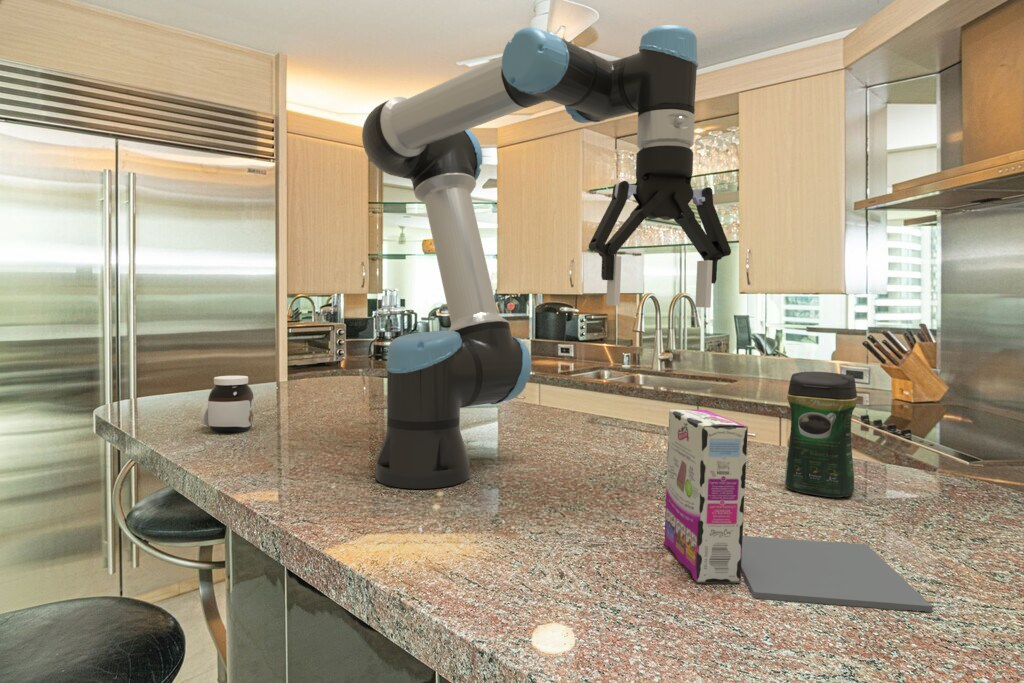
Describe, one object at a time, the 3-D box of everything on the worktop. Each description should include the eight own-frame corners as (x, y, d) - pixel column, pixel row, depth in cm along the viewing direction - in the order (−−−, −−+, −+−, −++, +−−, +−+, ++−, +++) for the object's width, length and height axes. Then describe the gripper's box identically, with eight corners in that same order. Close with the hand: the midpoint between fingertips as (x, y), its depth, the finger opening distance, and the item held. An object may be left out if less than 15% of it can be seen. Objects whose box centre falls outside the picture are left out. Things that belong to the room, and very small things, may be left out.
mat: (753, 598, 63) (754, 592, 63) (725, 539, 79) (725, 534, 79) (932, 612, 61) (932, 606, 61) (866, 549, 77) (866, 544, 77)
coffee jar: (857, 491, 101) (863, 372, 100) (847, 503, 95) (852, 376, 94) (792, 480, 107) (797, 368, 106) (778, 490, 101) (783, 371, 100)
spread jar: (239, 435, 135) (238, 380, 134) (185, 434, 135) (184, 379, 135) (262, 425, 147) (261, 373, 146) (212, 424, 147) (212, 373, 147)
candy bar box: (744, 584, 66) (750, 425, 65) (697, 585, 66) (702, 425, 65) (703, 544, 77) (708, 407, 77) (662, 544, 77) (666, 407, 76)
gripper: (588, 134, 81) (583, 304, 82) (762, 151, 87) (754, 308, 89) (568, 147, 88) (563, 304, 90) (729, 162, 95) (723, 307, 96)
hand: (658, 306), depth 89 cm, fingers open, 13 cm apart
